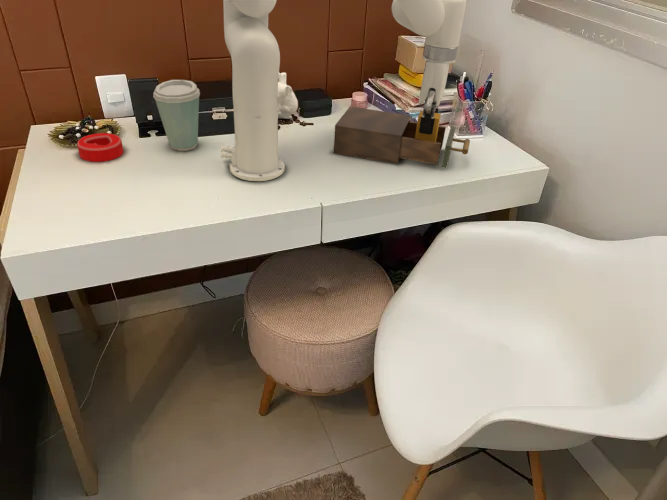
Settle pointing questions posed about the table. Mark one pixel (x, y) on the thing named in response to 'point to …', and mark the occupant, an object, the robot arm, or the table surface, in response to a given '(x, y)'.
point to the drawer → (429, 146)
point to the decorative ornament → (100, 147)
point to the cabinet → (370, 134)
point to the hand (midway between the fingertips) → (427, 127)
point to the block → (435, 129)
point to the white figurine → (285, 98)
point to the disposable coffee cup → (179, 112)
